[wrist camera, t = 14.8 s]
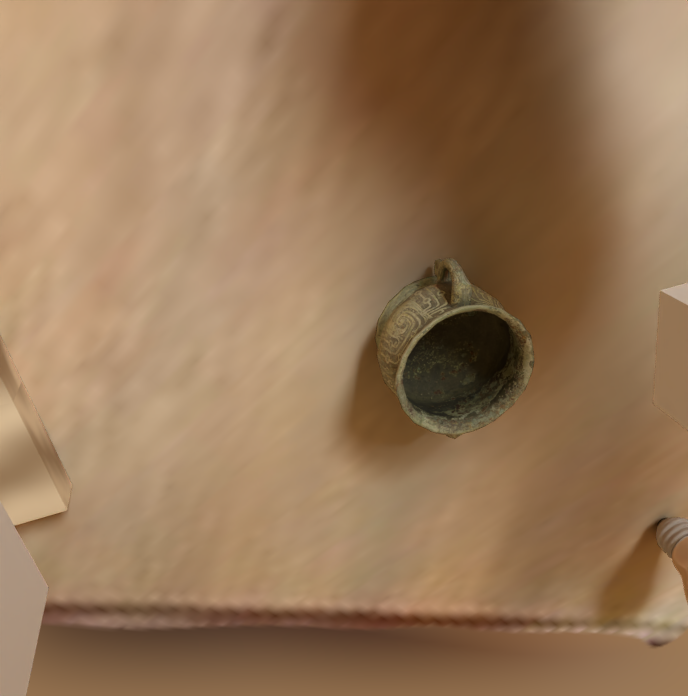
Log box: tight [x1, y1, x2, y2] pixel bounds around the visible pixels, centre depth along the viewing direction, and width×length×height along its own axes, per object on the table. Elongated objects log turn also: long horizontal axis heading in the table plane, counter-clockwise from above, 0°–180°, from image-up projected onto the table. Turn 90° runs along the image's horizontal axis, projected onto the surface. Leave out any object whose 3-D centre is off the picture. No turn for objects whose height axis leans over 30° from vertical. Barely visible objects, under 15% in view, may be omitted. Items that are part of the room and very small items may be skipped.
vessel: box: [375, 258, 534, 439], centre depth 41 cm, size 12×9×6 cm
